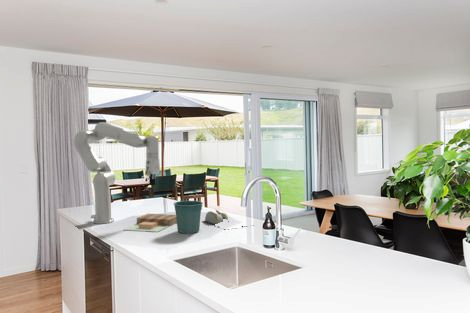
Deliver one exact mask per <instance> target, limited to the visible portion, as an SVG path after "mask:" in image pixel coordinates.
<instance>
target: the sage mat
mask: <svg viewBox="0 0 470 313" xmlns="http://www.w3.org/2000/svg"><path fill="white" fill-rule="evenodd" d="M167 228H170V226H160V225H157V227H155V228H153V229H145V228H139V225H138V224H137V223H136V224H133V225H131V226H128V227H126V228H124V229H123V231H131V232H148V233H159V232H161V231H163V230H165V229H167Z"/></svg>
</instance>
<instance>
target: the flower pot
mask: <svg viewBox="0 0 470 313" xmlns="http://www.w3.org/2000/svg"><path fill="white" fill-rule="evenodd" d="M203 205H204V203H203V202H202V201H199V200H180V201H174V202H173V206H174V210H175V215H176V219H177V223H176V229H177V232H178V233H181V234H186V235H188V234H195V233H198V232H199V231H200V227H201V226H200V225H201V213H202V209H203Z"/></svg>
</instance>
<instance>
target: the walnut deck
mask: <svg viewBox="0 0 470 313" xmlns="http://www.w3.org/2000/svg"><path fill="white" fill-rule="evenodd" d="M142 222H156V223H157V225H160V226H169V227H171V226H173V225H175V224H177V219H176V214H164V213H147V214H144V215H141V216H138V217H137V218H136V224H140V223H142Z"/></svg>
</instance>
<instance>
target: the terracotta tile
mask: <svg viewBox="0 0 470 313" xmlns="http://www.w3.org/2000/svg"><path fill="white" fill-rule="evenodd" d="M138 225H139V228H145V229H153V228H155V227H157V223H156V222H142V223H140V224H138Z"/></svg>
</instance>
